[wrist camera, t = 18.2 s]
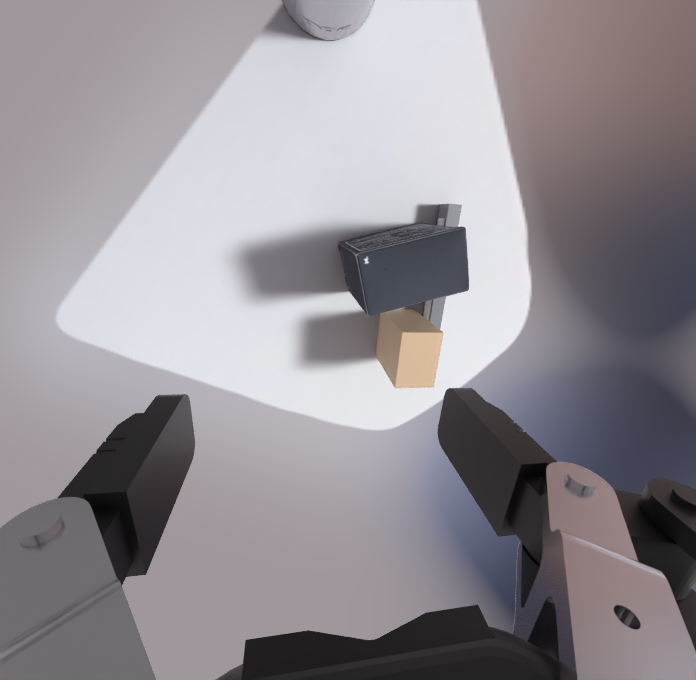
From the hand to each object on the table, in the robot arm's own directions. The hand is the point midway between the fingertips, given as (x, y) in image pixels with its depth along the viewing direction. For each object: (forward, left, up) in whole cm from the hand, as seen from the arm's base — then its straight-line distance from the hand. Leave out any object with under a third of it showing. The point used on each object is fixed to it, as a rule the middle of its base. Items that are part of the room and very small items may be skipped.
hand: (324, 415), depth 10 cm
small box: (-1, +10, -30) cm, 32 cm away
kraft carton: (+8, +12, -30) cm, 34 cm away
